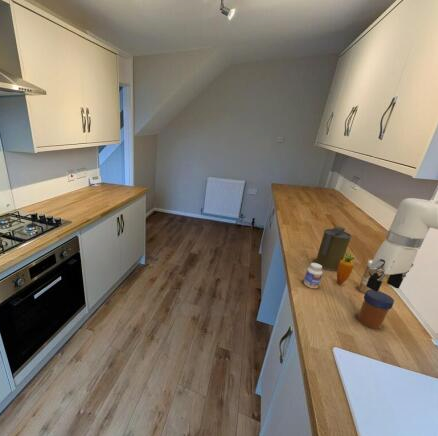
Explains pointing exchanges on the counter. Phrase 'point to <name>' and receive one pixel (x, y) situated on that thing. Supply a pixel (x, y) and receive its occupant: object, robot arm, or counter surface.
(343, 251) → the canister
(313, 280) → the pill bottle
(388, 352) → the counter surface
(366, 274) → the sprinkles bottle
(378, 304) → the lid
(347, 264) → the carrot
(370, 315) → the jar
